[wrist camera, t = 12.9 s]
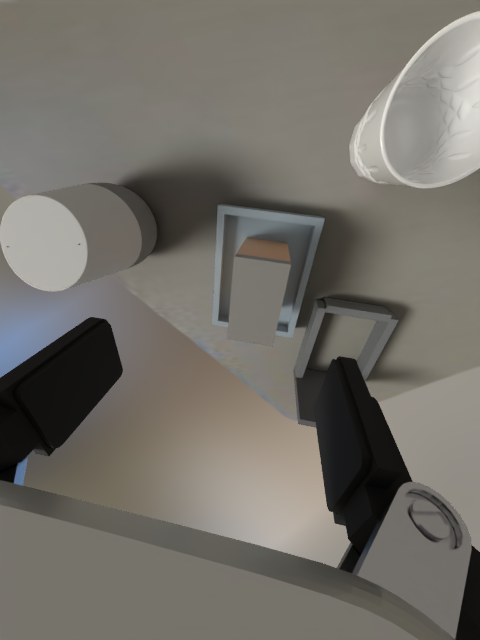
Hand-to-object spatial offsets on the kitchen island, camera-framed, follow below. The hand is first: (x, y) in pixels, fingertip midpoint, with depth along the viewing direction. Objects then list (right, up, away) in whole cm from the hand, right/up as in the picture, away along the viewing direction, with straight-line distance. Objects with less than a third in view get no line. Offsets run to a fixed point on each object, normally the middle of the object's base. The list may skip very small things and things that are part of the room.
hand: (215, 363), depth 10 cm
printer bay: (+16, -2, +24) cm, 29 cm away
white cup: (+15, +19, +13) cm, 28 cm away
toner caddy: (+4, +8, +20) cm, 22 cm away
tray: (+4, +8, +21) cm, 23 cm away
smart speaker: (-13, +15, +20) cm, 28 cm away
